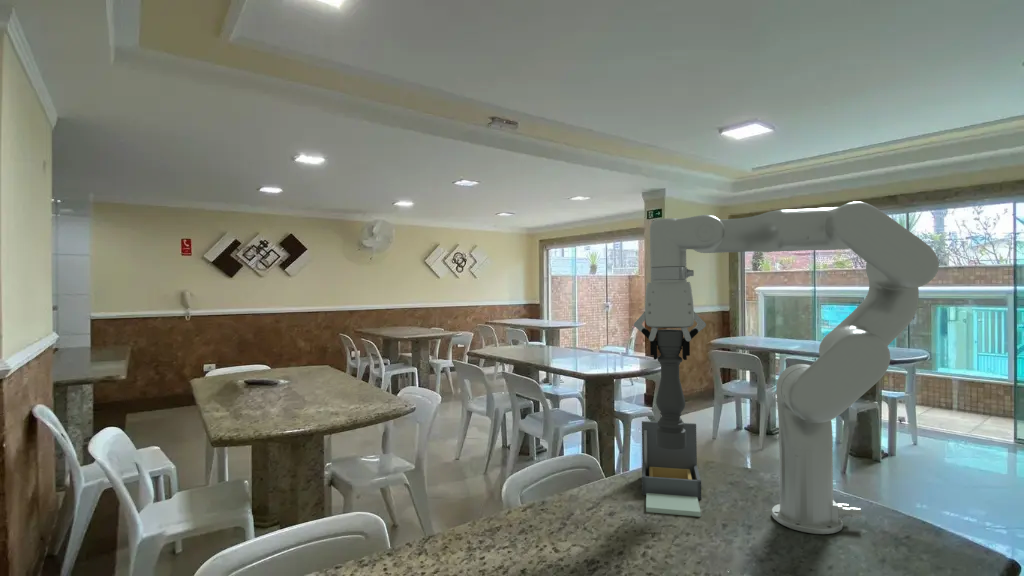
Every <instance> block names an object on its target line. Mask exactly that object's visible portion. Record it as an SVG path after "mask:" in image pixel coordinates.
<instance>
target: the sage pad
mask: <svg viewBox="0 0 1024 576" xmlns="http://www.w3.org/2000/svg"><path fill="white" fill-rule="evenodd" d="M645 496H646V498H645V511H646V513H654V514H655V513H656V514H665V515H676V516H677V515H678V516H687V517H688V516H689V517H700V518H701V517H702V514H701V513H702V512H701V508H700V507H701V506H700V503H699V499H698V498H697V497H690V496H678V495H665V494H653V493H646V495H645Z"/></svg>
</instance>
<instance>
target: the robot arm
mask: <svg viewBox="0 0 1024 576" xmlns="http://www.w3.org/2000/svg"><path fill="white" fill-rule="evenodd" d="M649 245H650V246H649V250H650V251H649V252H650V253H649V254H650V258H649V260H650V282H647V283H646V289H645V300H644V301H645V302H644V311H643V313H642V314H641V315H640V317H639V318H638V319H636V320H635V322H634V323H633V327H635V329H637V331H639V332H640V333H641V334H642V335H644V336H645V337H646V338H647V339H648V340H649V346H650V352H649V353H650V354H649V355H650V356H653V360H658V346H657V341H656V333H657V330H659V329H680V330H682V332H683V346H682V350H681V352H682V356H681V358H682V360H683V361H687V360H688V359H687V358H688V357H690V356H691V347H690V344H691V343H690V342H691V341H692V340H693V338H694V337H696V336H697V334H699V332H701V331H702V330H703V329H704V328H706V326H707V323H706V322H705V321H704V320H703V319H702V318H701V317H700V316H699V314H697V313H696V311H694V309H695V308H694V299H693V290H692V285H691V282H690V281H687V279H688V278H690V277H694V274H695V273H694V272H695V271H694V269H690V268H688V267H687V250H693V251H695V252H696V253H701V254H702V253H703V254H715V253H716V254H718V253H720V254H721V253H723V254H724V253H745V252H750V253H751V252H754V253H755V252H759V253H773V252H774V253H775V252H776V253H777V252H802V251H804V252H805V251H841V250H851V251H852V252H853V253H855V254H856V255H857V256H858V257H860V258H861V259H862V260H863V261H865V263H866V264H865V273H866V276H867V280H868V292H867V295H866V296H865V298H864V299H863V301H862V302H861V303H860V304H859V305H858V306H857V307H856V308H855V309H854V310H853V311H852V312H851V313H850V314H849V315H848V316H847V317H846V318H844V320H842V321H841V322H840V323H839V324H838V325H837V326H836V327H834V328H833V329H832V330H831V331H830V332H828V333H827V334H826V335H825V336H824V337H823V338H822V340H821V342H820V343H819V347H818V353H819V357H818V358H817V359H816V360H815V361H814V362H813V363H812V364H805V363H796V364H793V365H789V366H788V367H787V368H785V369H784V370H783V371H782V372H781V373H780V374H779V377H778V378H777V383H776V403H777V404H776V405H777V413H778V414H777V417H778V459H779V460H778V461H779V462H778V464H779V465H778V467H779V468H778V469H779V503H778V504H775V505H774V506H773V507H772V508H771V517H772V518H773V519H774V520H775V521H776V522H777V523H778V524H781V525H782V526H784V527H787V528H788V529H791V530H795V531H799V532H802V533H806V534H807V533H808V534H814V535H830V534H835V533H839V532H840V531H842V529H843V528H844V522H843V519H844V518H851V519H862V517H863V513H862V510H861V508H860V507H859V508H858V507H850V505H849V503H837V502H836V501H835V499H834V468H833V467H834V465H833V463H834V462H833V457H834V455H833V453H834V452H833V449H834V448H833V445H834V443H833V442H834V439H833V438H834V437H833V424H832V420H834V419H836V418H837V417H839V416H840V415H841V414H843V413H844V412H845V411H846V410H847V409H848V408H849V407H851V406H852V405H853V404H854V403H855V402H856V401H857V400H859V399H860V398H861V397H862V396H863V395H865V394H866V393H867V392H868V391H869V390H870V389H872V388H873V387H874V385H876V384H877V383H878V382H879V381H880V380H881V379H882V377H884V375H885V374H886V372H887V371H888V369H889V366H890V362H891V352H890V349H889V345H890V344H892V343H893V341H895V340H896V338H897V337H899V335H901V333H902V332H903V331H904V330H905V329H907V327H908V326H909V325H910V324H911V323H912V321H913V320H914V318H915V316H916V313H917V311H918V307H919V295H920V294H919V291H920V290H919V287H923V286H925V285H927V284H929V283H930V282H931V281H932V280H934V278H935V277H936V276H937V274H938V271H939V267H940V266H939V265H940V263H939V262H940V261H939V257H938V256H937V254H936V251H934V250H933V249H932V247H931V246H930V245H929V244H927V242H925V241H924V240H922V239H921V238H920V237H918V236H917V235H916V234H914V233H913V232H912V231H909V230H908V229H907V228H905V227H904V226H903V225H901V224H900V223H899V222H897V221H896V220H895V219H893V218H891V217H890V216H889V215H887V213H885V212H883V211H882V210H881V209H879V208H877V207H876V206H874V205H872V204H870V203H867V202H863V201H851V202H847V203H845V204H842V205H840V206H834V207H832V206H831V207H817V208H797V209H792V208H791V209H790V208H789V209H777V210H770V211H767V212H764V213H761V214H757V215H753V216H749V217H748V216H747V217H742V218H741V217H740V218H728V219H727V218H726V219H724V218H723V219H719V217H716V216H715V215H713V214H712V215H711V214H700V215H696V216H689V217H684V218H683V217H682V218H676V217H675V218H673V217H670V218H669V217H667V218H659V219H655V220H652V222H651V223H650V226H649ZM644 322H645V324H646V326H647V327H650V328H651V330H650V331H649V330H648V329H647V328H646V327H645V326H644V325H643V323H644ZM695 323H696V326H695V327H693V328H691V327H692V326H694V324H695ZM689 328H691V330H690V331H689Z"/></svg>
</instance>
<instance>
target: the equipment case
mask: <svg viewBox="0 0 1024 576" xmlns="http://www.w3.org/2000/svg"><path fill="white" fill-rule="evenodd" d="M684 424H685V426H684V427H683V429H685V430H686V447H685V448H683V449H677V450H674V449H664V448H661V447H659V446H657V432H656V429H657V428H658V427H659V426H658V421H653V420H651V421H649V420H647V421H646V420H642V421H641V455H642V456H641V457H642V458H641V459H642V462H641V463H642V465H641V495H645V496H646V493H653V494H665V495H678V496H690V497H697V498H698V500H702V479H701V476H700V475H701V474H700V472H699V468H698V463H697V461H698V460H697V459H698V458H697V457H698V456H697V455H698V454H697V453H698V452H697V451H698V450H697V449H698V448H697V443H698V442H697V423H695V422H694V423H691V422H690V423H689V422H684Z"/></svg>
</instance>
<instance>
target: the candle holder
mask: <svg viewBox="0 0 1024 576" xmlns="http://www.w3.org/2000/svg"><path fill="white" fill-rule="evenodd" d="M655 337H656V341H657V351H659V354H660V355H659V356H657V361H658V362H659V364H660V381H659V385H658V390H657V394H656V398H655V403H656V407H657V409H658V410H659V411H660V413H659V414H660V416H661V417H659V419H658V420H657V422H658V426H659V427H658V428H657V429H656V432H657V446H659V447H661V448H664V449H674V450H677V449H683V448H685V447H686V430H685V429H683V427H684V426H685V424H684V423H685V422H684V420H683V419H682V418H681V416H682V412H683V411H684V409H685V408H686V398H685V395H684V391H683V387H682V382H681V380H680V365H681V363H682V362H683V357H682V356H680V354H681V352H682V346H683V338H684V335H683V332H682V330H681V329H658V330H657V333H656V336H655Z"/></svg>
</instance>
